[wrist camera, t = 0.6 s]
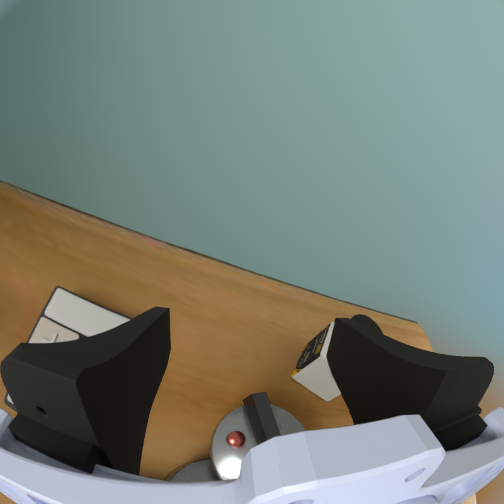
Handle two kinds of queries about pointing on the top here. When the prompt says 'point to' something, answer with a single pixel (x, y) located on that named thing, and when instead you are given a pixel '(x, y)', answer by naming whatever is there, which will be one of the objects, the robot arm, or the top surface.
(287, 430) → the lid
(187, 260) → the top surface
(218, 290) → the top surface
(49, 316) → the calculator
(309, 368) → the medicine bottle
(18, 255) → the top surface
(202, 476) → the pot
